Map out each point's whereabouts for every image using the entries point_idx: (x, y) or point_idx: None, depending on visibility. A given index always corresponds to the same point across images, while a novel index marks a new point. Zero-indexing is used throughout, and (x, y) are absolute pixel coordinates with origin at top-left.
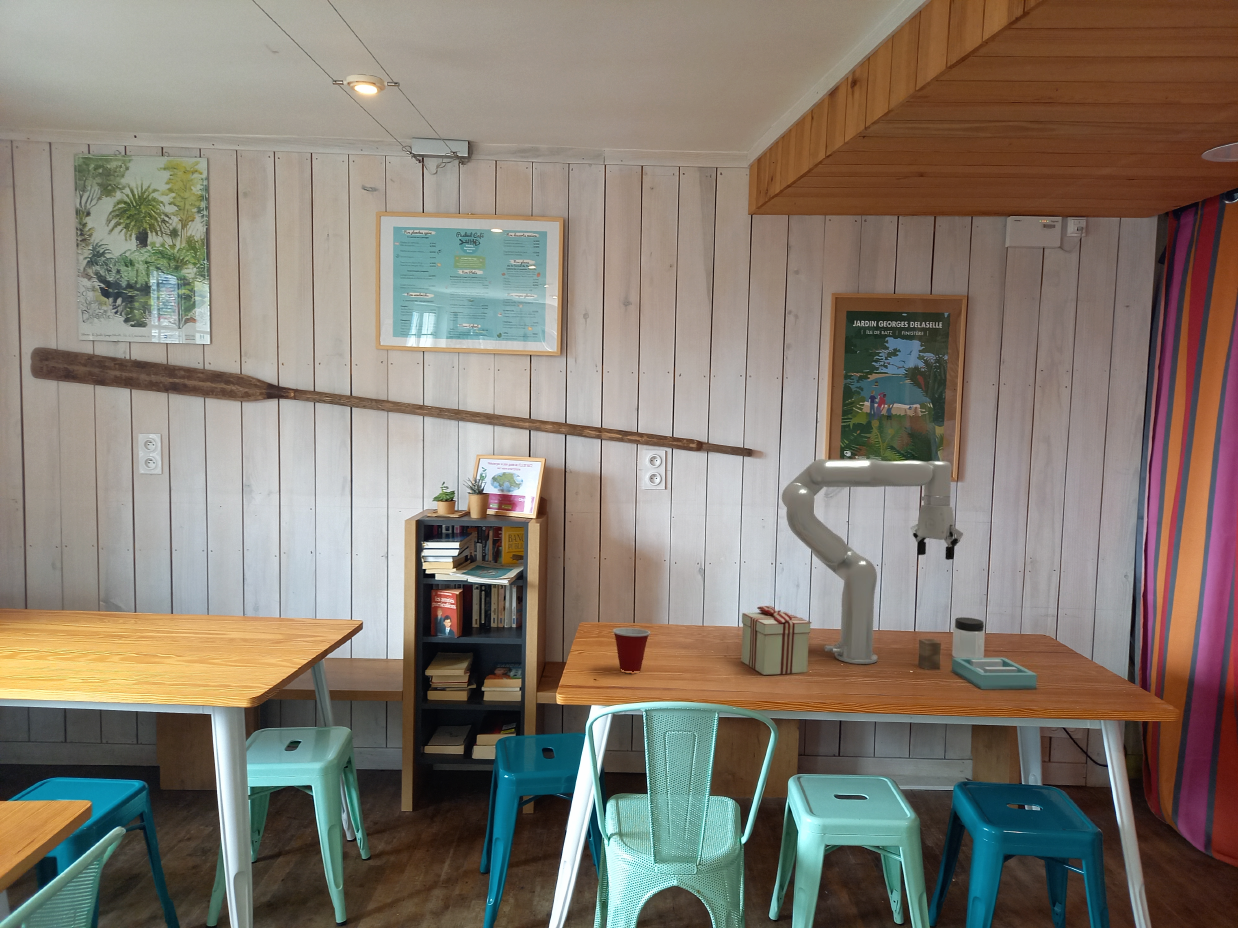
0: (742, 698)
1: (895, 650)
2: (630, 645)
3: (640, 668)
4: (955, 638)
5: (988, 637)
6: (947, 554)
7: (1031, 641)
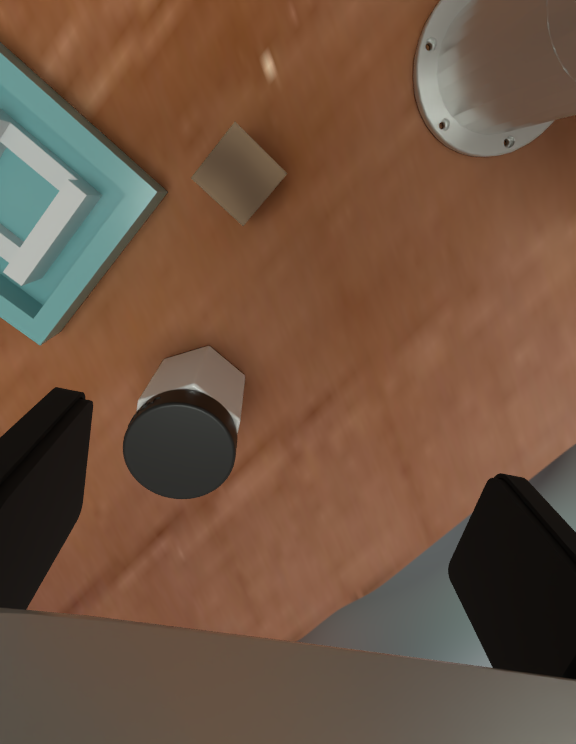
0: None
1: (410, 299)
2: None
3: None
4: (227, 389)
5: (252, 625)
6: (22, 420)
7: None
